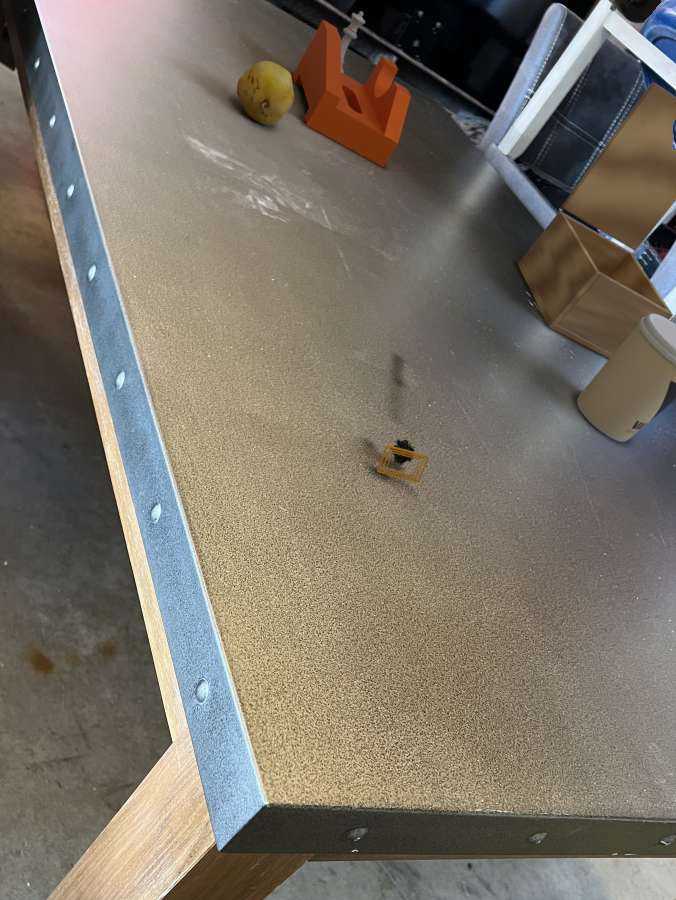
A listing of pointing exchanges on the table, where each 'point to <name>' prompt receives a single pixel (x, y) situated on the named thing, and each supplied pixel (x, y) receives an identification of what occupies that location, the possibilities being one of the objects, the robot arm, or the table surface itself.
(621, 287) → the chest
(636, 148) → the lid
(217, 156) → the table surface
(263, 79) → the fruit
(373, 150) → the tape dispenser
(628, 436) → the coffee cup
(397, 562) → the table surface
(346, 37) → the chess piece
